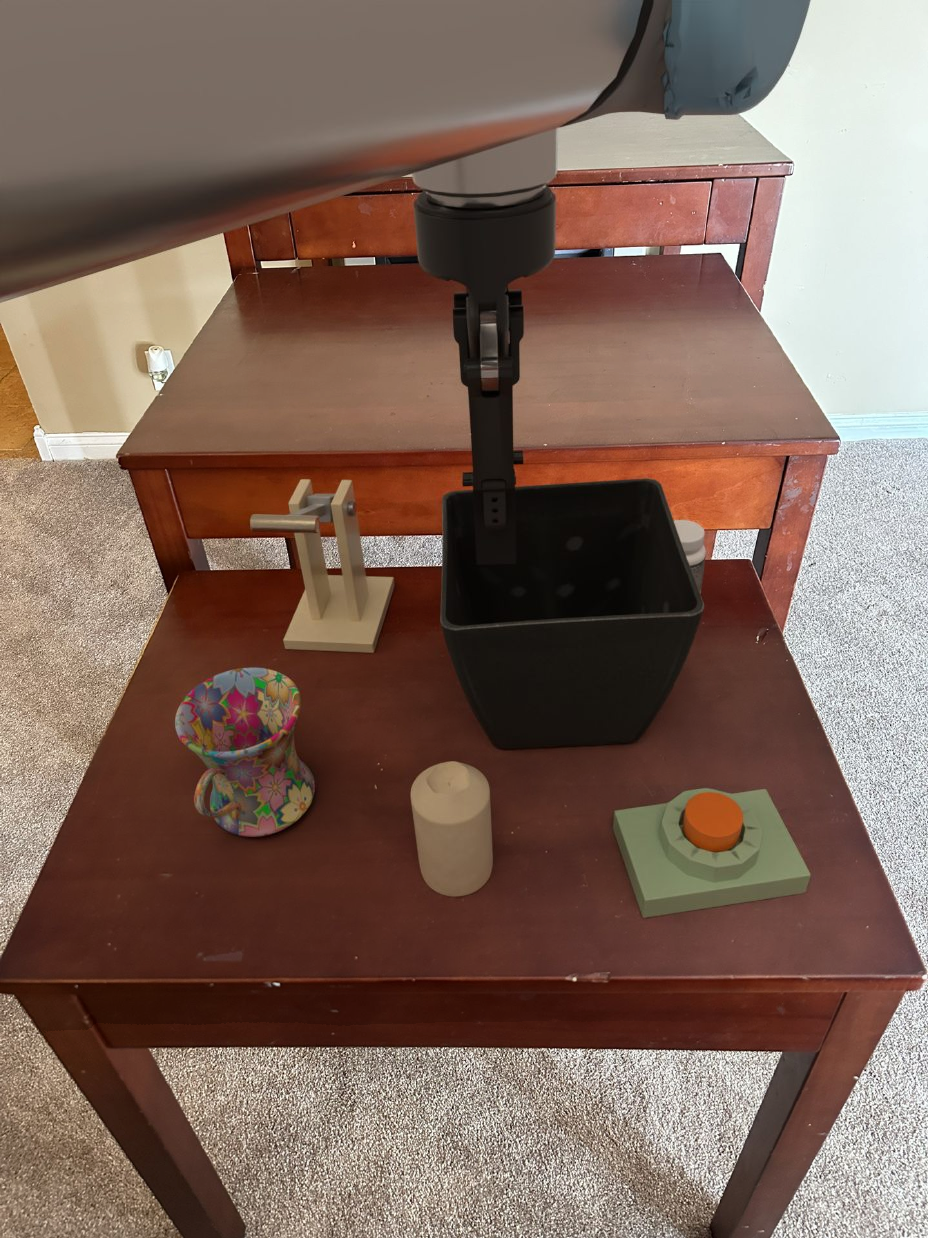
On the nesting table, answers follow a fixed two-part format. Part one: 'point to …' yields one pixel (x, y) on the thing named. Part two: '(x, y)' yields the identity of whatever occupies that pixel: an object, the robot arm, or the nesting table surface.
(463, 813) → the candle
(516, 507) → the flower pot
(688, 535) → the pill bottle
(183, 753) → the nesting table surface
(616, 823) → the control block
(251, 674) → the mug
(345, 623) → the bracket
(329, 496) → the lever
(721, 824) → the button
